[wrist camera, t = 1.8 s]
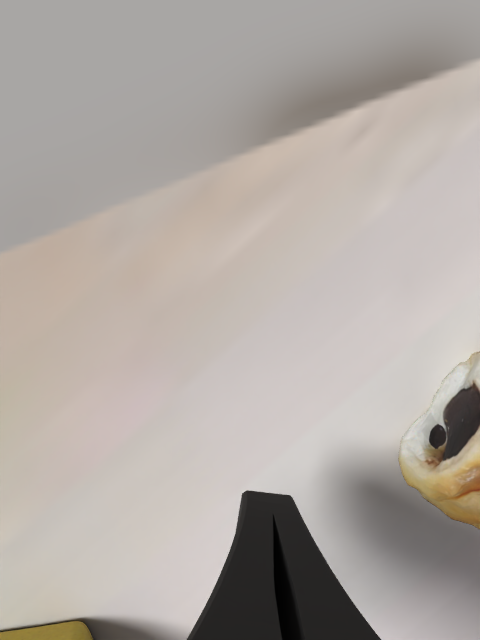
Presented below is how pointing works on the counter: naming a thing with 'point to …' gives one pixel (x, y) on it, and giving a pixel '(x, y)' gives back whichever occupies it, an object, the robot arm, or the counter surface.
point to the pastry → (448, 446)
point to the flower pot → (50, 632)
